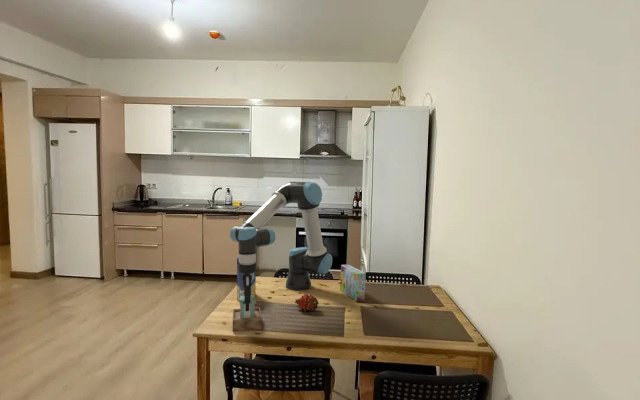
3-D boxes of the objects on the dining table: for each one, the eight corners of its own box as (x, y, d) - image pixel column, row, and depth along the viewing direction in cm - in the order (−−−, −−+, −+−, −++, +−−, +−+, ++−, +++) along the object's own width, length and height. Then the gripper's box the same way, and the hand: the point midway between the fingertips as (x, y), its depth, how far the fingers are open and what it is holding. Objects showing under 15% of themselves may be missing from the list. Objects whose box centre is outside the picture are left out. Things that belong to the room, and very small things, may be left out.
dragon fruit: (319, 315, 173) (296, 316, 176) (322, 300, 179) (299, 301, 182) (315, 305, 168) (291, 306, 171) (317, 290, 174) (294, 291, 177)
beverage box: (255, 293, 198) (255, 254, 196) (249, 300, 187) (249, 259, 186) (243, 293, 199) (243, 254, 197) (236, 299, 188) (237, 258, 186)
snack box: (365, 300, 190) (366, 273, 189) (356, 302, 188) (357, 274, 187) (348, 289, 210) (348, 263, 209) (339, 290, 208) (340, 264, 207)
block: (253, 312, 160) (253, 295, 160) (254, 317, 154) (254, 299, 154) (240, 313, 159) (240, 295, 159) (240, 318, 153) (240, 300, 153)
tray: (259, 318, 164) (260, 307, 164) (261, 329, 152) (261, 317, 152) (233, 319, 162) (233, 309, 161) (232, 331, 150) (232, 319, 150)
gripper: (238, 258, 164) (238, 307, 165) (238, 268, 145) (238, 324, 147) (255, 257, 165) (254, 306, 167) (257, 268, 147) (256, 322, 148)
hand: (247, 314), depth 157 cm, fingers closed on block, 6 cm apart
